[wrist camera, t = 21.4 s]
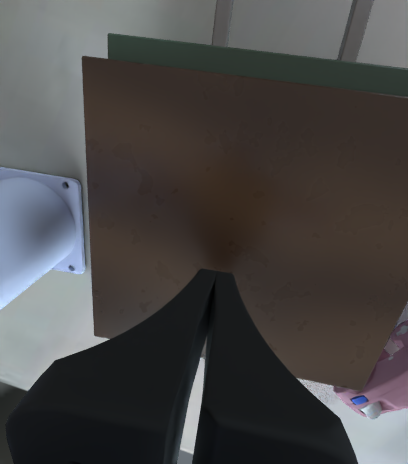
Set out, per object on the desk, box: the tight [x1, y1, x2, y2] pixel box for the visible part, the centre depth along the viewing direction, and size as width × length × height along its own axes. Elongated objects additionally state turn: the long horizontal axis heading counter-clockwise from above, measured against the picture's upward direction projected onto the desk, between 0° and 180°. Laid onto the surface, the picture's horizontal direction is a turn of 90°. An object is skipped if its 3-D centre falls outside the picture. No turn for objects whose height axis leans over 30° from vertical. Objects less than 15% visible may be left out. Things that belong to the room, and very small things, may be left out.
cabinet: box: [82, 56, 408, 391], centre depth 16 cm, size 13×14×8 cm
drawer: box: [108, 0, 408, 97], centre depth 14 cm, size 17×13×7 cm
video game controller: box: [333, 320, 408, 419], centre depth 20 cm, size 10×5×7 cm, turn 143°
